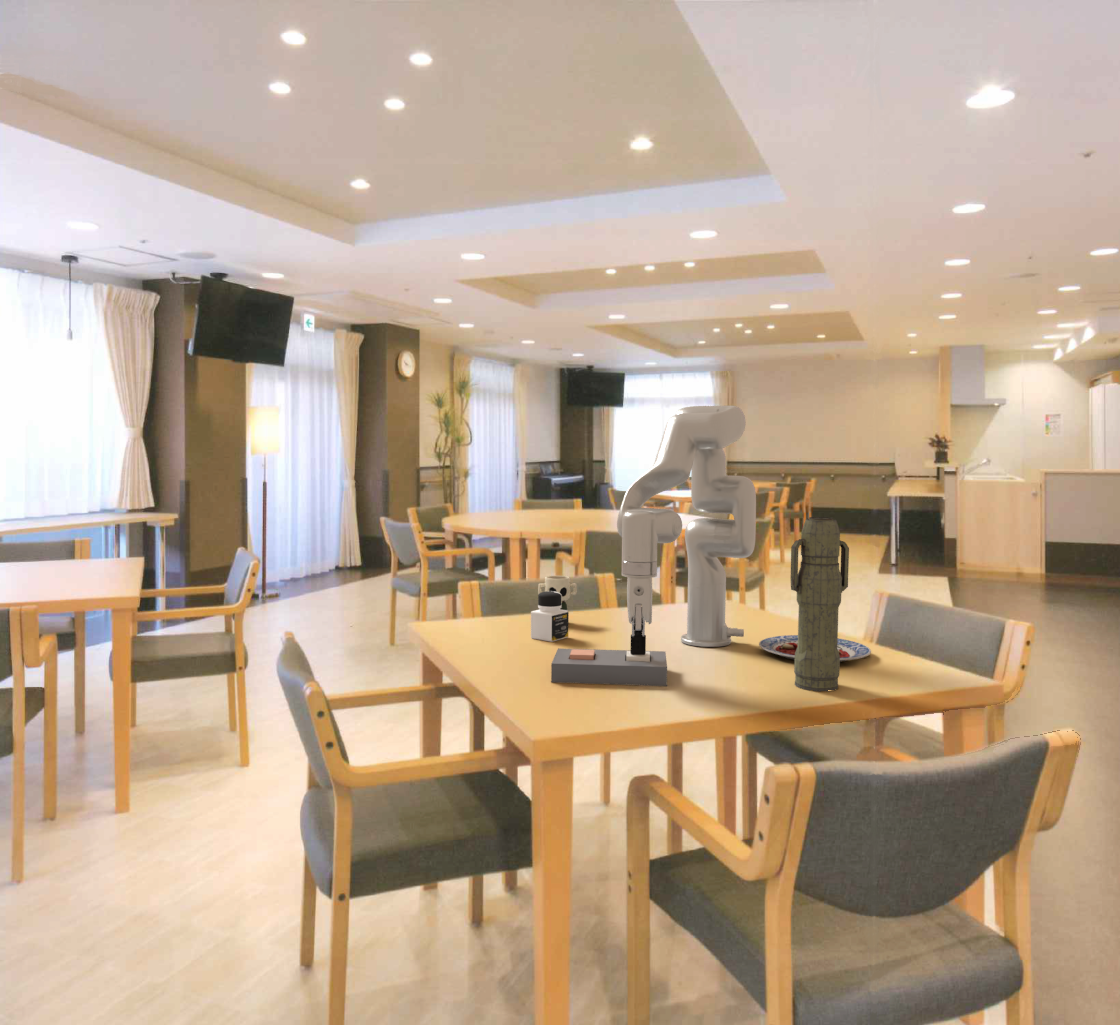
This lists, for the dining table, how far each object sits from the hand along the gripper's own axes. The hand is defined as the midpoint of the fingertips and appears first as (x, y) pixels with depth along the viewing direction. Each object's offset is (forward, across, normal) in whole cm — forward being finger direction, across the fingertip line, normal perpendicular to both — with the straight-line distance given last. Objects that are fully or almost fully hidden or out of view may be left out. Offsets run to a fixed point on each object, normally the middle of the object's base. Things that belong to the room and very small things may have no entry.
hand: (638, 653), depth 185 cm
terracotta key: (+3, 0, +12) cm, 12 cm away
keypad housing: (+5, 0, +6) cm, 8 cm away
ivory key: (+3, 0, 0) cm, 3 cm away
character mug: (+5, +56, +23) cm, 61 cm away
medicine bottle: (+5, +36, +23) cm, 43 cm away
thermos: (+5, -3, -37) cm, 37 cm away
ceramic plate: (+5, +26, -42) cm, 50 cm away
